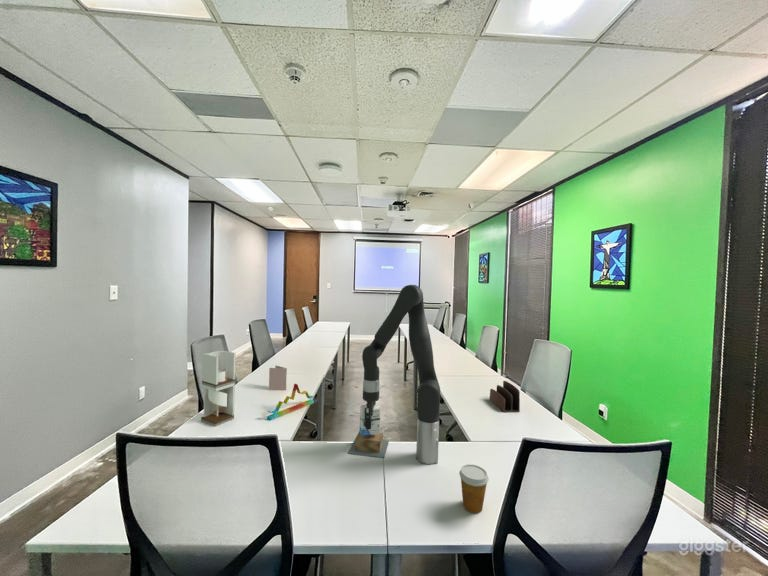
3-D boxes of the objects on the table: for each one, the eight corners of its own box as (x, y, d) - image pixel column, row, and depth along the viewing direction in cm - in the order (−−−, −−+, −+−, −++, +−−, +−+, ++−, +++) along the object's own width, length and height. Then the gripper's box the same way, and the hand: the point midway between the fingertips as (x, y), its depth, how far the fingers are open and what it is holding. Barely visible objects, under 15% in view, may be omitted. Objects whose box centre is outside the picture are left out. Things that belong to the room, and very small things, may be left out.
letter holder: (503, 400, 205) (504, 378, 205) (519, 412, 186) (520, 389, 185) (489, 400, 204) (490, 378, 204) (503, 412, 185) (504, 389, 184)
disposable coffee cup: (481, 497, 110) (482, 463, 110) (491, 517, 101) (493, 480, 101) (455, 496, 110) (456, 463, 110) (462, 517, 100) (464, 480, 100)
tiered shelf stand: (201, 421, 161) (202, 353, 160) (220, 413, 170) (221, 350, 170) (215, 426, 155) (216, 357, 155) (234, 418, 165) (235, 353, 164)
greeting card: (287, 389, 210) (287, 367, 210) (278, 393, 204) (278, 370, 204) (275, 386, 216) (276, 365, 216) (266, 389, 210) (267, 367, 210)
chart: (270, 421, 164) (271, 393, 164) (267, 419, 166) (267, 391, 166) (313, 403, 189) (314, 379, 189) (310, 402, 191) (311, 378, 191)
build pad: (388, 441, 146) (388, 440, 146) (384, 458, 132) (384, 457, 132) (355, 437, 149) (355, 437, 149) (347, 453, 135) (347, 452, 135)
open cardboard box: (382, 443, 144) (382, 432, 144) (379, 452, 136) (379, 441, 136) (359, 440, 146) (359, 430, 145) (355, 449, 138) (355, 438, 138)
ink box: (361, 436, 137) (362, 409, 137) (359, 430, 142) (360, 405, 142) (380, 434, 139) (381, 408, 139) (377, 429, 144) (378, 403, 144)
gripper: (376, 395, 132) (375, 433, 133) (382, 384, 147) (380, 419, 147) (359, 393, 134) (358, 432, 134) (366, 383, 148) (365, 417, 148)
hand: (370, 425), depth 140 cm, fingers closed on ink box, 6 cm apart
